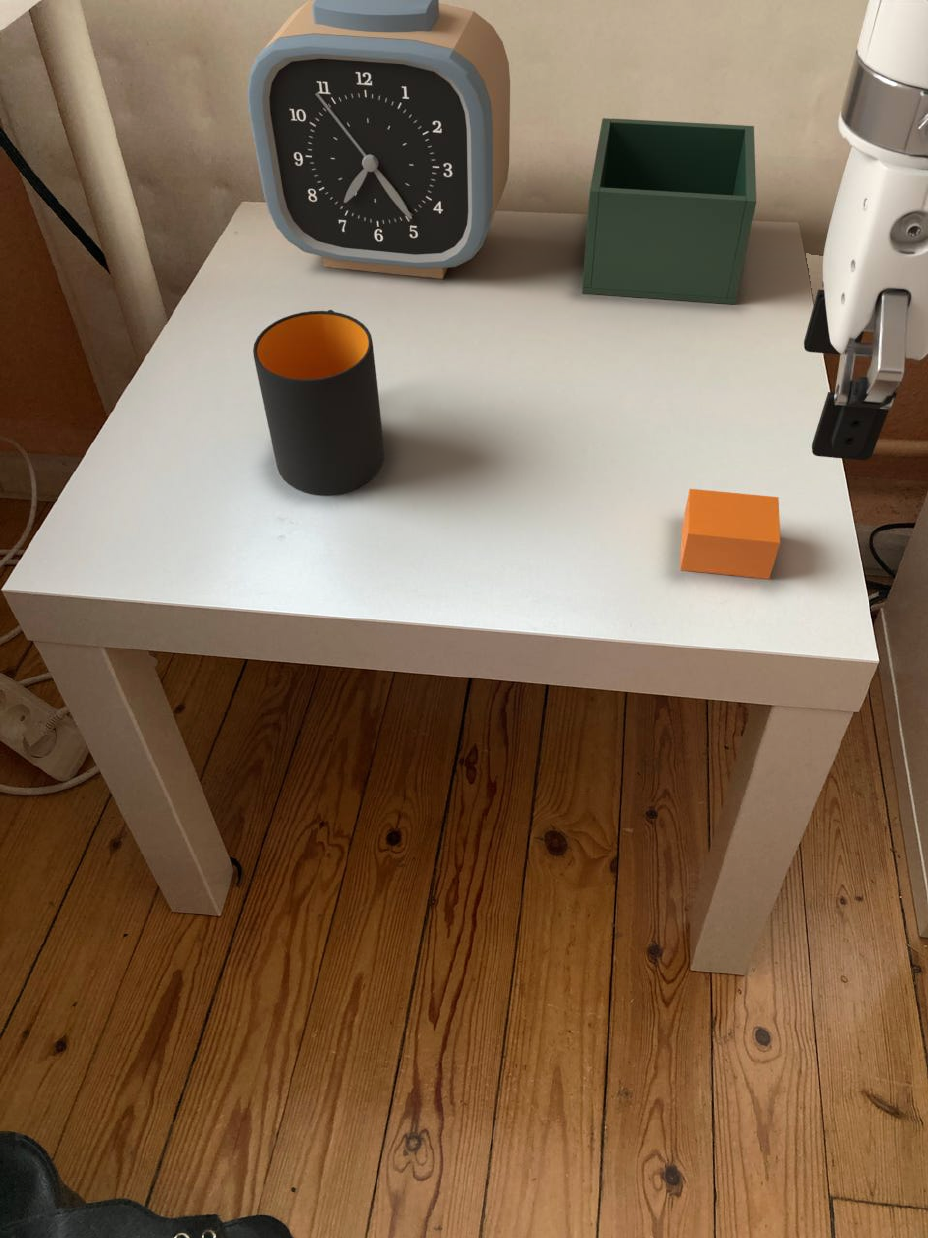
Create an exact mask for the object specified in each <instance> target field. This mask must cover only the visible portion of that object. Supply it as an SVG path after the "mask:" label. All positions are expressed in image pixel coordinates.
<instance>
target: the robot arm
mask: <svg viewBox="0 0 928 1238" xmlns="http://www.w3.org/2000/svg"><path fill="white" fill-rule="evenodd" d="M837 129H838V133H839V135H840V136H841V137H842V138H843V140H845V141H846V142H847V143H848V145H849V146H851V148H850V152H849V155H848V156H847V157H848V158H847V160H846V164H845V167H844V171H843V173H842V177H841V181H840V184H839V188H838V192H837V196H836V199H835V203H834V207H833V210H832V213H831V218H830V221H829V226H828V231H827V235H826V240H825V243H824V250H823V256H822V257H823V258H822V282H821V286H822V288H823V289H818V290H817V293H816V296H815V300H814V304H813V308H812V311H811V314H810V318H809V322H808V324H807V330H806V333H805V336H804V340H803V348H804V350H805V351H806V352H808V353H815V354H829V355H839V362H838V363H839V364H838V370H837V377H836V382H835V390H834V391H828V392H827V395H826V398H825V401H824V403H823V408H822V410H821V413H820V417H819V420H818V423H817V427H816V429H815V433H814V437H813V440H812V443H811V452H812V455H813V456H816V457H822V458H833V459H844V460H854V461H867V460H870V459H871V458H872V456H873V455H874V452H875V448H876V447H877V443H878V441H879V438H880V435H881V433H882V430H883V427H884V424H885V421H886V419H887V416H888V414H889V412H890V410H891V408H892V407H893V404H894V400H895V399H896V398H897V395H898V392H896V391H897V390H898V388H899V386H900V384H901V383H902V381H903V379H904V374H905V365H906V359H913V361H920V360H923V359H924V358H925V357H926V356H927V355H928V0H868V3H867V8H866V11H865V15H864V19H863V23H862V27H861V31H860V34H859V38H858V42H857V46H856V51H855V54H854V57H853V62H852V66H851V69H850V73H849V77H848V81H847V85H846V89H845V93H844V97H843V99H842V105H841V109H840V112H839V116H838V121H837ZM865 332H866V333H873V339H872V342H862V339H863V336H864V334H865ZM856 357H858V358H859V357H861V358H871V362H870V365H869V368H868V370H867V371H866V372H867V374H866V376H859V377H857V378H855V379H853V375H854V369H855V361H856Z"/></svg>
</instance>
